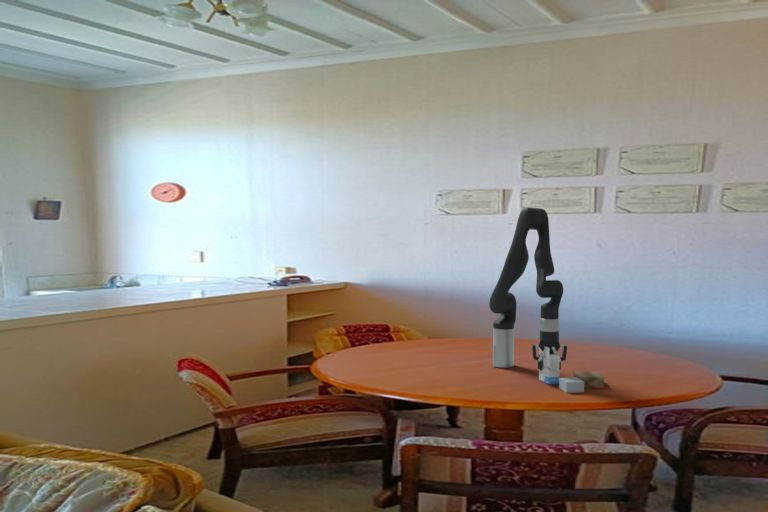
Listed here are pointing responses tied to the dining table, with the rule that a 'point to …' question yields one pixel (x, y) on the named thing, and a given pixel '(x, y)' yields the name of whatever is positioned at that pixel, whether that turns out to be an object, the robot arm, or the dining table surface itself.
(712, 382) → the dining table surface
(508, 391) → the dining table surface
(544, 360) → the ink box
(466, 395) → the dining table surface
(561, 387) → the grey block
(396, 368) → the dining table surface
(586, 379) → the tan block
